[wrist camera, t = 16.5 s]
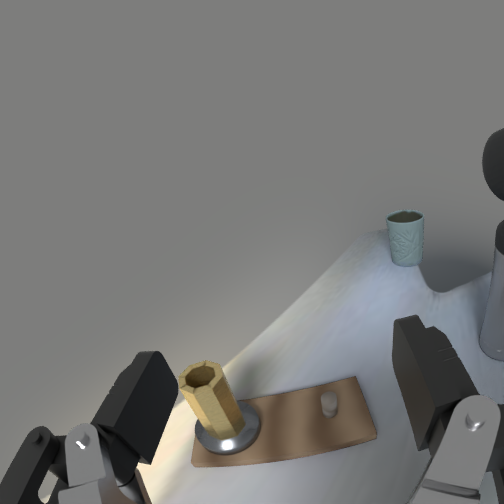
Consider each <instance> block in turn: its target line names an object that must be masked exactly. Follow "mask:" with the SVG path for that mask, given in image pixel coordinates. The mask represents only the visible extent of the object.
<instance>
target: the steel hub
mask: <svg viewBox="0 0 504 504" xmlns="http://www.w3.org/2000/svg"><path fill="white" fill-rule="evenodd" d="M236 401H237V400H236ZM237 404H238V406H239V408H240V410H241V412H242V414H243V417H244V420H245V423H246V425H245V426H244V428H243V429H242V431H241V432H240V433H239V435H238V436H236V437H233V438H230V439H226V440H223V441H221V440H219V439H216V438H214V437H212V436H209V434H208V433H207V431H206V430H205V428H204V427H203V425H202V424H201V422H200V421H199V419H198V420H197V422H196V425H195V434H196V437H197V439H198V441H199V442H200V443H201V445H202V446H203V447H204V448H205V449H206V450H207V451H209V452H211V453H213V454H216V455H223V456H228V455H234V454H237V453H240V452H242V451H244V450H246V449H248V448H249V447H250V446H252V444H253V443H254V442H255V441H256V440H257V438H258V436H259V434H260V431H261V422H260V419H259V417H258V415H257V412H256V411H255V409H254V408H253V407H252V406H251V405H249V404H247V403H245V402H242V401H237Z"/></svg>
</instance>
